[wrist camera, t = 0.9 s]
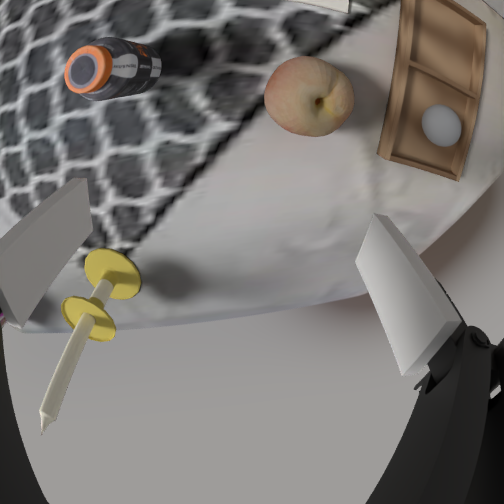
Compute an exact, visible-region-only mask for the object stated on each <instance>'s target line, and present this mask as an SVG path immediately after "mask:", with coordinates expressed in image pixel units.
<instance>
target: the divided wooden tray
mask: <svg viewBox="0 0 504 504" xmlns="http://www.w3.org/2000/svg"><path fill="white" fill-rule="evenodd" d="M485 47H486V23H485V22H483V21H482V20H481V19H479V18H478V17H477V16H475V15H474V14H472V13H471V12H470V11H468V10H467V9H465V8H464V7H462V6H461V5H459V4H458V3H456V2H455V1H453V0H401V7H400V20H399V30H398V39H397V48H396V55H395V62H394V69H393V76H392V82H391V88H390V93H389V99H388V104H387V109H386V114H385V119H384V124H383V128H382V133H381V137H380V141H379V146H378V150H377V154H378V155H379V156H381V157H382V158H384V159H386V160H389V161H393V162H397V163H401V164H404V165H408V166H411V167H415V168H418V169H421V170H425V171H428V172H431V173H434V174H437V175H440V176H443V177H446V178H449V179H452V180H455V181H458V182H459V180H460V177H461V173H462V170H463V167H464V164H465V160H466V157H467V153H468V150H469V146H470V142H471V138H472V134H473V129H474V125H475V120H476V116H477V111H478V105H479V99H480V93H481V87H482V79H483V71H484V61H485ZM436 104H441V105H445V106H447V107H449V108H451V109H452V110H453V111H454V112H455V113H456V114H457V116H458V117H459V120H460V123H461V135H460V137H459V139H458V141H457V142H456V143H455V144H453V145H451V146H447V147H442V146H438V145H436V144H434V143H433V142H431V141H430V140H429V139H428V138H427V136H426V135H425V133H424V131H423V128H422V117H423V114H424V112H425V110H426V109H427V108H429V107H430V106H432V105H436Z"/></svg>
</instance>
